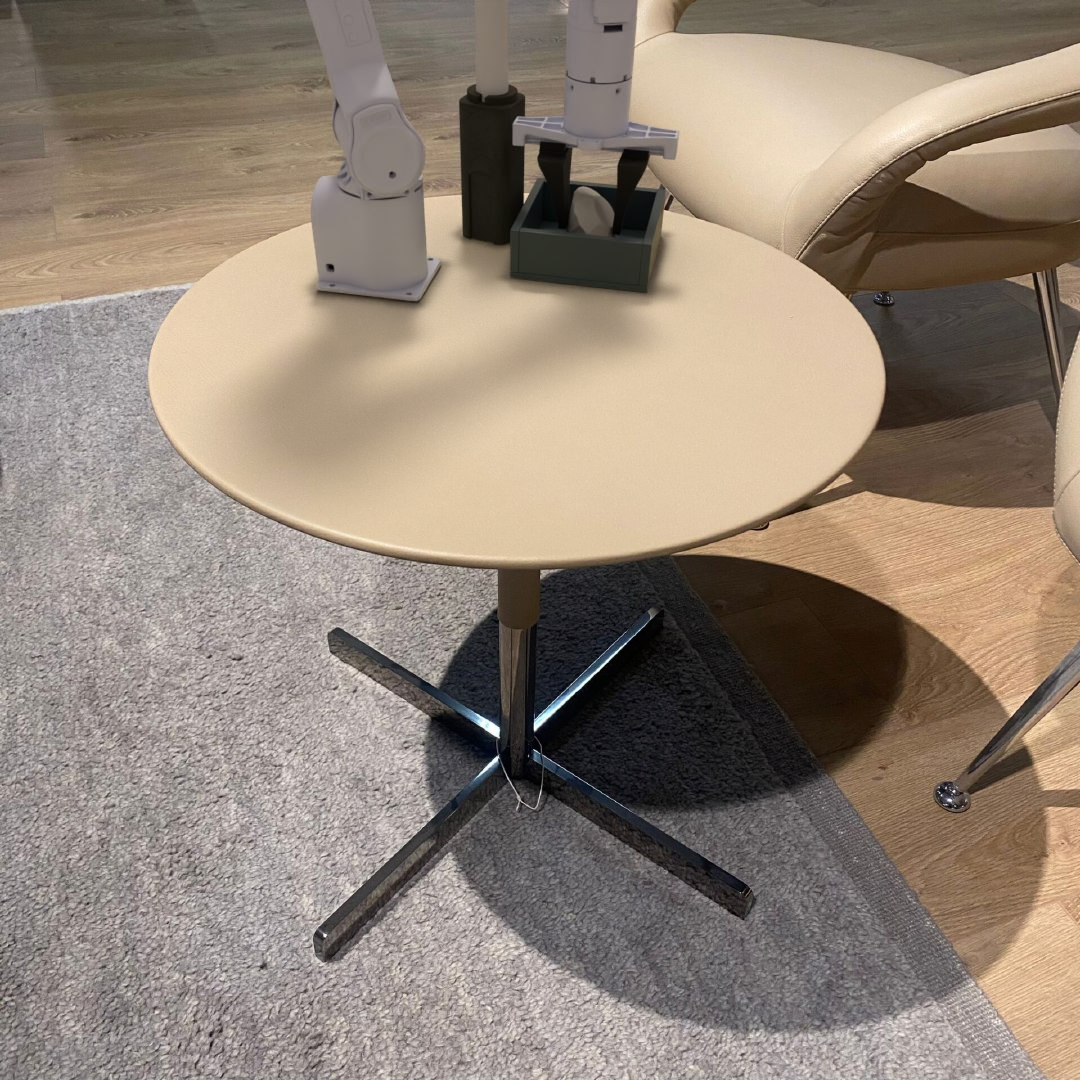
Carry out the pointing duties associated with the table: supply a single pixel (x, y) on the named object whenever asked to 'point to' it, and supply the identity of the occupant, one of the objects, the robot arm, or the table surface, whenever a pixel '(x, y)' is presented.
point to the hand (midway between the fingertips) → (590, 227)
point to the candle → (491, 133)
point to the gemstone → (590, 214)
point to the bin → (587, 241)
